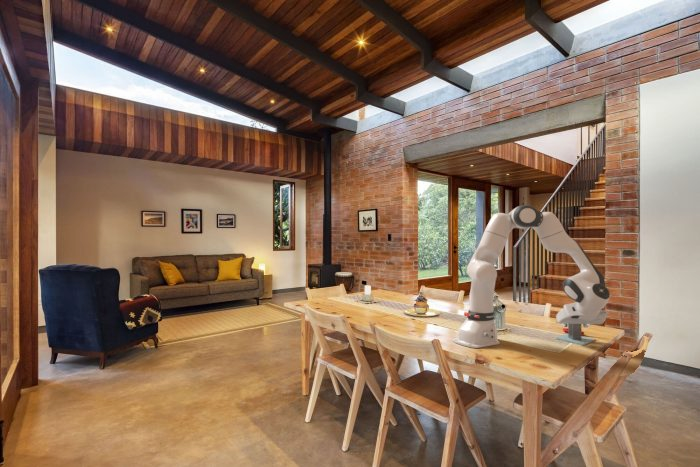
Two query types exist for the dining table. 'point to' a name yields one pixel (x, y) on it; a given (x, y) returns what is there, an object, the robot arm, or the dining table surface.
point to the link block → (574, 331)
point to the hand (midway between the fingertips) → (574, 325)
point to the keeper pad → (581, 342)
